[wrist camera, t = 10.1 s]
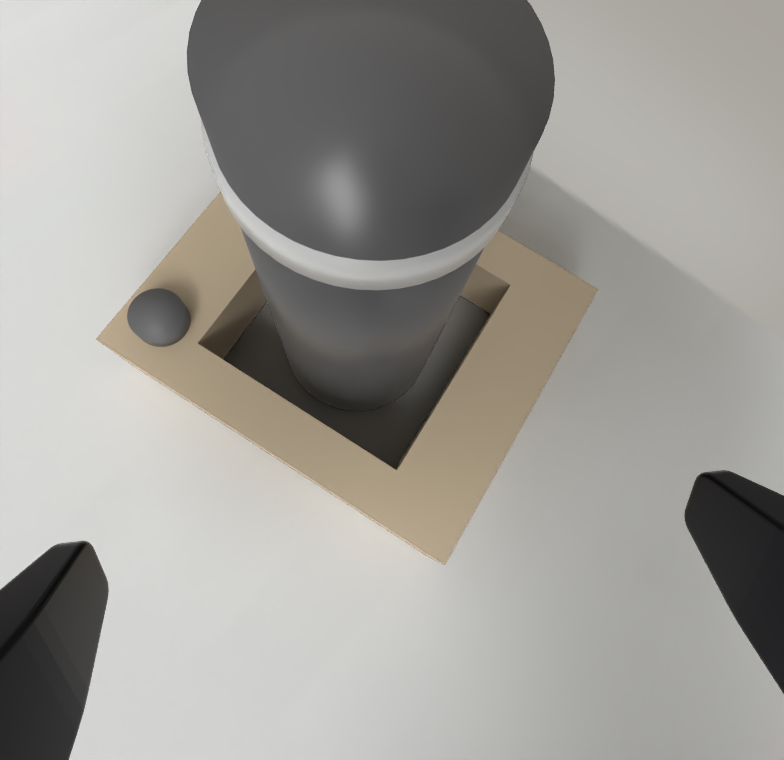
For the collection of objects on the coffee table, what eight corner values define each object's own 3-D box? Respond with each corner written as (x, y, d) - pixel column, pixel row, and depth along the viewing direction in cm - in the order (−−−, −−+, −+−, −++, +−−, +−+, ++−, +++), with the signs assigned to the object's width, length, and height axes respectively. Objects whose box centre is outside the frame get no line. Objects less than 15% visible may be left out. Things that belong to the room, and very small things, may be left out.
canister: (454, 376, 19) (630, 146, 7) (319, 438, 18) (271, 287, 6) (391, 254, 20) (455, -120, 8) (260, 306, 19) (123, -34, 7)
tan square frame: (567, 317, 20) (606, 281, 17) (430, 558, 17) (448, 566, 14) (298, 156, 20) (290, 94, 17) (129, 363, 18) (85, 332, 15)
